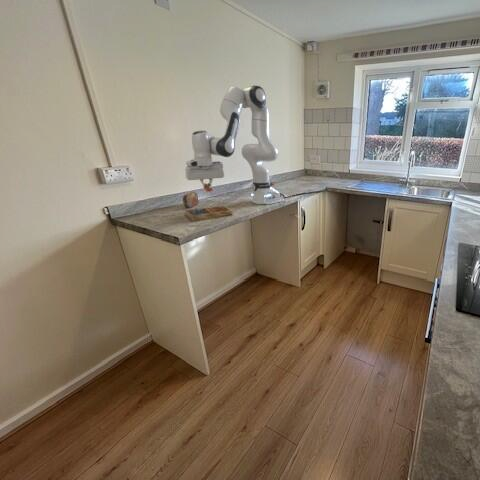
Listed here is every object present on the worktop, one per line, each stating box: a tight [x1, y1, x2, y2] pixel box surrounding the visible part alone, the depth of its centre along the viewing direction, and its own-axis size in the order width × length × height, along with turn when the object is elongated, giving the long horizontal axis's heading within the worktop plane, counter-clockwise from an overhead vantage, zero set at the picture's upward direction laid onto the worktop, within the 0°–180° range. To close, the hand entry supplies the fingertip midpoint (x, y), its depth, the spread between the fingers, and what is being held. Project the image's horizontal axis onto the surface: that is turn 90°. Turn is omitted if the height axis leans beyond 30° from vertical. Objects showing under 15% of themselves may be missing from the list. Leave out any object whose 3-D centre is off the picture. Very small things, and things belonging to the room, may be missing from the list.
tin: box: [182, 191, 199, 209], centre depth 168 cm, size 15×3×8 cm, turn 179°
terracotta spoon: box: [203, 182, 214, 193], centre depth 150 cm, size 10×4×3 cm, turn 38°
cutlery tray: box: [184, 205, 233, 222], centre depth 151 cm, size 22×14×3 cm, turn 129°
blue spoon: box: [194, 207, 203, 215], centre depth 148 cm, size 10×4×3 cm, turn 38°
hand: (207, 186), depth 150 cm, fingers closed on terracotta spoon
